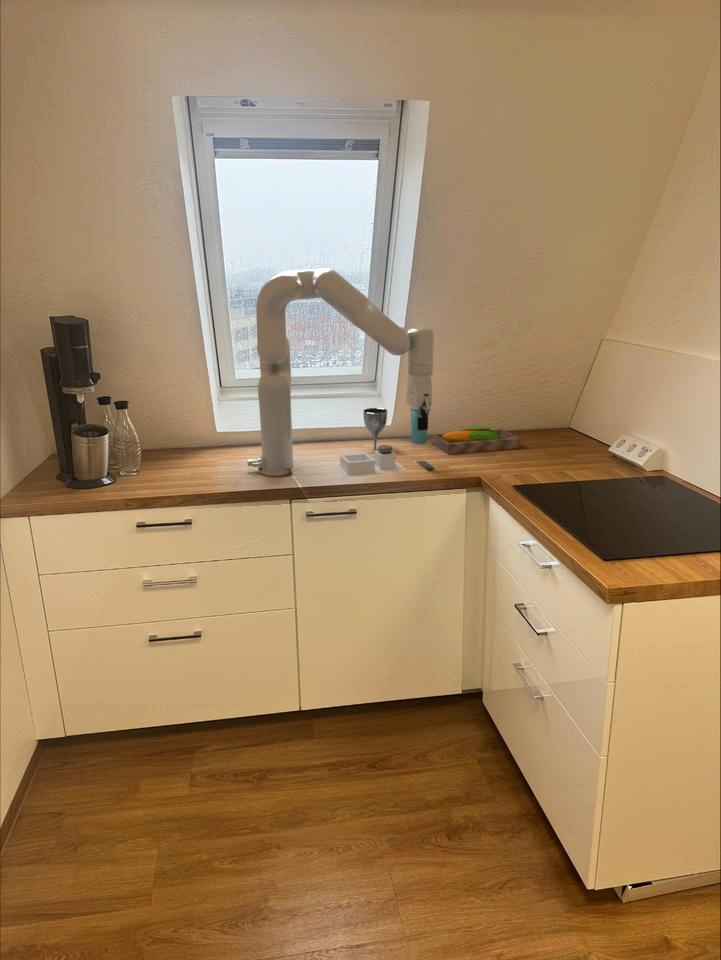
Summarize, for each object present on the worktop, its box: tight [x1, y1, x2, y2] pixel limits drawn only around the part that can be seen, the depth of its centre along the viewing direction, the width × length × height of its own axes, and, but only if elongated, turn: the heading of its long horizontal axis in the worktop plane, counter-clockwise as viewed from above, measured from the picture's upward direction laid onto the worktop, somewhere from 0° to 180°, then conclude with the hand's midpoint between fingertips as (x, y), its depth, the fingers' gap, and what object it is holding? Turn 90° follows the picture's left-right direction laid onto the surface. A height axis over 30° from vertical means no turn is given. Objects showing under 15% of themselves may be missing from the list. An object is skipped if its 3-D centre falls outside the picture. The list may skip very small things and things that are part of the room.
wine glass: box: [363, 407, 388, 451], centre depth 225 cm, size 8×8×15 cm
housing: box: [333, 450, 407, 477], centre depth 207 cm, size 20×12×6 cm, turn 107°
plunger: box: [377, 444, 393, 454], centre depth 208 cm, size 4×4×6 cm
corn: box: [442, 425, 499, 443], centre depth 234 cm, size 7×8×20 cm
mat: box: [414, 460, 435, 471], centre depth 212 cm, size 8×8×1 cm
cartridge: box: [410, 405, 428, 445], centre depth 208 cm, size 5×5×12 cm
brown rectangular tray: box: [431, 428, 522, 455], centre depth 236 cm, size 27×14×4 cm, turn 107°
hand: (419, 427), depth 208 cm, fingers closed on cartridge, 5 cm apart
